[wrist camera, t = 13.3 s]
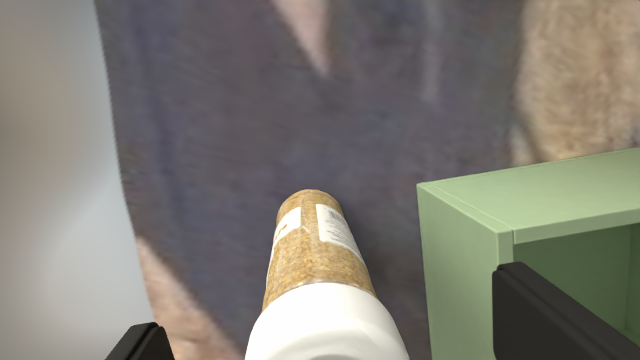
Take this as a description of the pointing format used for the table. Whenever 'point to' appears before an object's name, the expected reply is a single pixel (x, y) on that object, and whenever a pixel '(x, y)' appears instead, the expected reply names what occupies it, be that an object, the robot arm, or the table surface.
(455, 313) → the bread box
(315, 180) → the table surface
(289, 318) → the sprinkles bottle
